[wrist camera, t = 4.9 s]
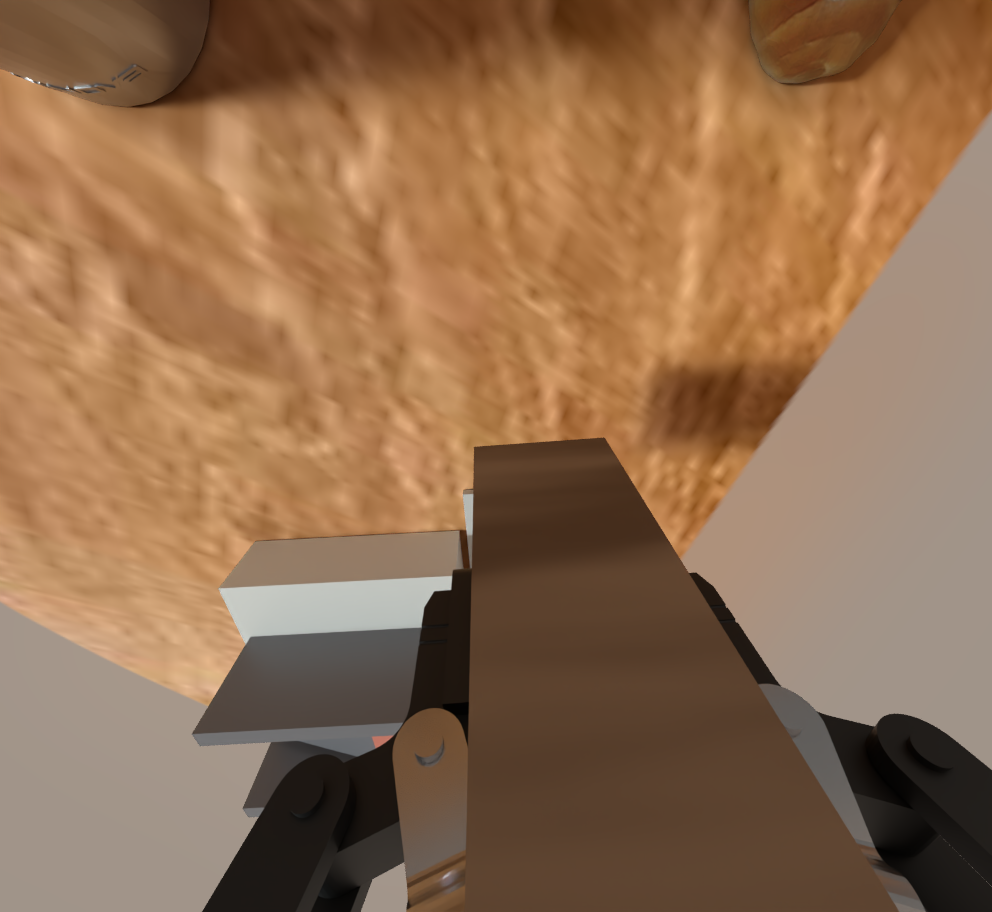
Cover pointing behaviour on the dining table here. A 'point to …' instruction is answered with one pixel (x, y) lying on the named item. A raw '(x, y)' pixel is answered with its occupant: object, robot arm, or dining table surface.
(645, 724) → the peg
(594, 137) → the dining table surface
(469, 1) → the dining table surface
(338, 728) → the grey slotted holder
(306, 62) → the dining table surface
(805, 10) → the pastry
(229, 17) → the dining table surface
